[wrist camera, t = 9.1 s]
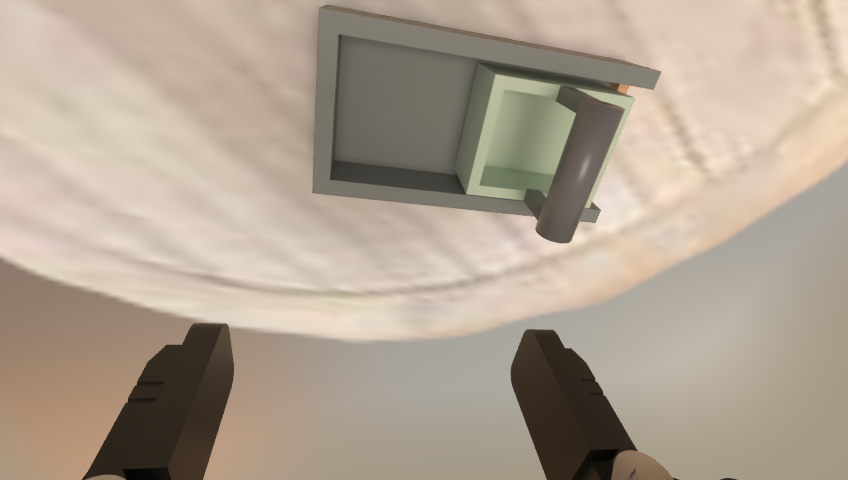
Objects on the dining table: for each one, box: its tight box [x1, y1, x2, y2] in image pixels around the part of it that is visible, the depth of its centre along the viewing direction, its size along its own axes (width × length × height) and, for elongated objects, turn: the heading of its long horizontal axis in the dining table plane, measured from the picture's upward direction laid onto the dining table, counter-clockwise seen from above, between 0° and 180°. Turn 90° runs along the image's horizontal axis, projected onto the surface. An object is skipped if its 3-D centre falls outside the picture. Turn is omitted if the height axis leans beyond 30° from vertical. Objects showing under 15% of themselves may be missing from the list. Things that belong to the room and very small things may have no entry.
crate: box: [455, 62, 635, 243], centre depth 29 cm, size 8×10×11 cm
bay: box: [312, 5, 661, 223], centre depth 31 cm, size 12×23×5 cm, turn 80°
